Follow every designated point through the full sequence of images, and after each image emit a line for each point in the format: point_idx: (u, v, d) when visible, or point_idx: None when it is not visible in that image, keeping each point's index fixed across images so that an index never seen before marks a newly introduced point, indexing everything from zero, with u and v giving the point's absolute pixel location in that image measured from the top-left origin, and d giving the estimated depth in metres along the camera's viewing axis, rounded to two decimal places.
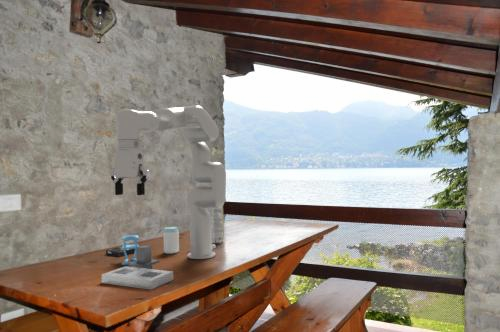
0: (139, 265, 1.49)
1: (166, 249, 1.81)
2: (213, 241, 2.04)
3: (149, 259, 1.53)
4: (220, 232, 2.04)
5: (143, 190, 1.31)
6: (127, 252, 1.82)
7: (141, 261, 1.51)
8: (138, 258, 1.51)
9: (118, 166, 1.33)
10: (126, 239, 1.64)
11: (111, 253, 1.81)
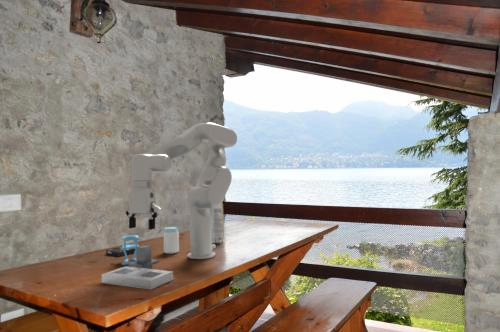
0: (139, 265, 1.49)
1: (166, 249, 1.81)
2: (213, 241, 2.04)
3: (149, 259, 1.53)
4: (220, 232, 2.04)
5: (154, 225, 1.50)
6: (127, 252, 1.82)
7: (141, 261, 1.51)
8: (138, 258, 1.51)
9: (133, 203, 1.52)
10: (126, 239, 1.64)
11: (111, 253, 1.81)
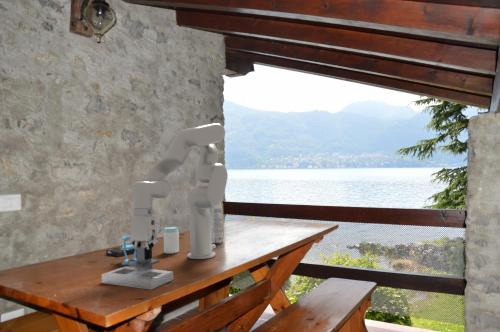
0: (139, 265, 1.48)
1: (166, 249, 1.81)
2: (213, 241, 2.04)
3: (149, 259, 1.53)
4: (220, 232, 2.04)
5: (150, 255, 1.52)
6: (127, 252, 1.81)
7: (141, 261, 1.51)
8: (138, 258, 1.51)
9: (134, 231, 1.52)
10: (126, 239, 1.64)
11: (111, 253, 1.81)
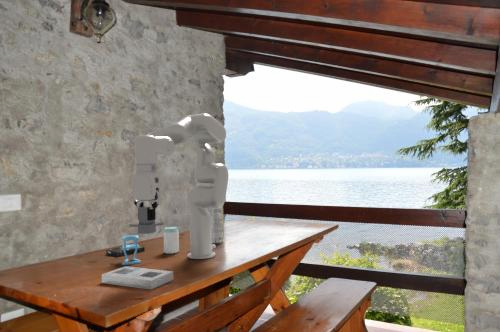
0: (141, 226, 1.36)
1: (166, 249, 1.81)
2: (213, 241, 2.04)
3: (152, 220, 1.40)
4: (220, 232, 2.04)
5: (154, 215, 1.39)
6: (126, 252, 1.81)
7: (144, 222, 1.38)
8: (140, 219, 1.39)
9: (136, 189, 1.39)
10: (126, 239, 1.64)
11: (111, 253, 1.81)
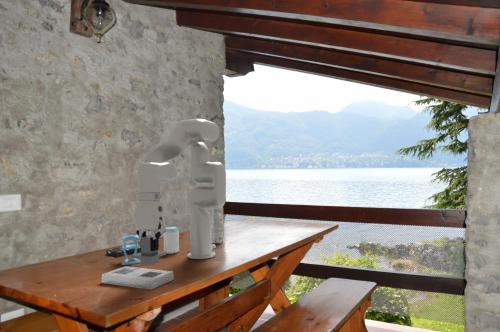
0: (144, 257, 1.30)
1: (166, 249, 1.81)
2: (213, 241, 2.04)
3: (155, 251, 1.35)
4: (220, 232, 2.04)
5: (157, 246, 1.34)
6: (126, 252, 1.81)
7: (146, 252, 1.33)
8: (143, 249, 1.33)
9: (139, 219, 1.34)
10: (126, 239, 1.64)
11: (111, 253, 1.81)
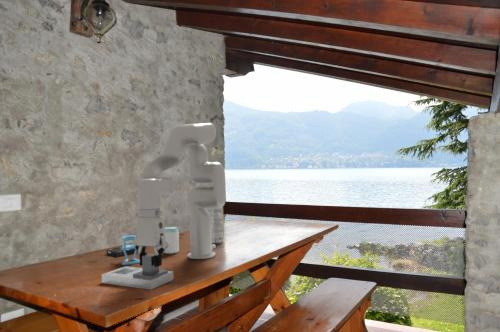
0: (145, 276, 1.31)
1: (166, 249, 1.81)
2: (213, 241, 2.04)
3: (156, 269, 1.35)
4: (220, 232, 2.04)
5: (160, 261, 1.34)
6: (126, 252, 1.81)
7: (148, 271, 1.33)
8: (144, 268, 1.34)
9: (139, 235, 1.34)
10: (126, 239, 1.64)
11: (111, 253, 1.81)
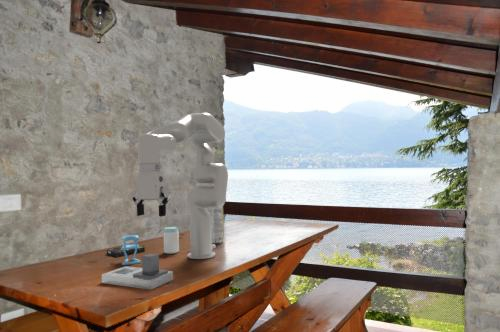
0: (145, 276, 1.31)
1: (166, 249, 1.81)
2: (213, 241, 2.04)
3: (156, 269, 1.35)
4: (220, 232, 2.04)
5: (164, 211, 1.37)
6: (126, 252, 1.81)
7: (148, 271, 1.33)
8: (144, 268, 1.34)
9: (140, 189, 1.38)
10: (126, 239, 1.64)
11: (111, 253, 1.81)
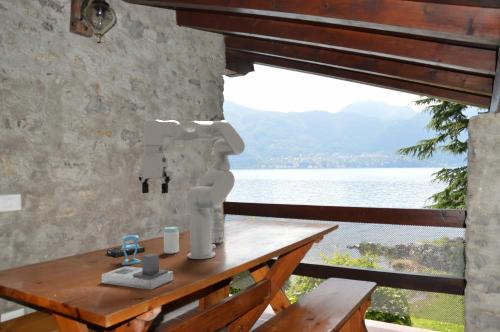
0: (145, 276, 1.31)
1: (166, 249, 1.81)
2: (213, 241, 2.04)
3: (156, 269, 1.35)
4: (220, 232, 2.04)
5: (167, 189, 1.53)
6: (126, 252, 1.81)
7: (148, 271, 1.33)
8: (144, 268, 1.34)
9: (145, 169, 1.54)
10: (126, 239, 1.64)
11: (111, 253, 1.81)
